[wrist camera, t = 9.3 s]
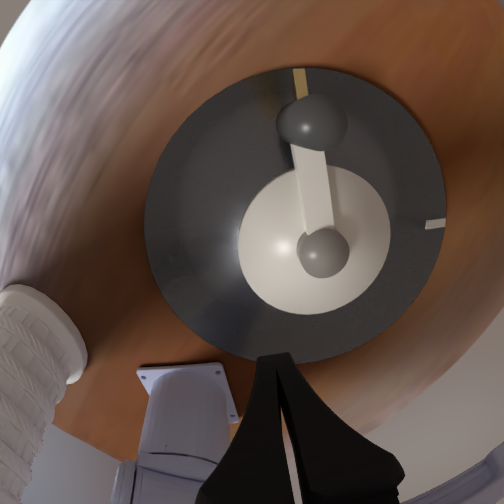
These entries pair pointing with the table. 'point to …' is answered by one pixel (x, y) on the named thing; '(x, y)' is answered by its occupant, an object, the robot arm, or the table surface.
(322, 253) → the dial
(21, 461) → the decorative container
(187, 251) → the dial plate
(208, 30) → the table surface
